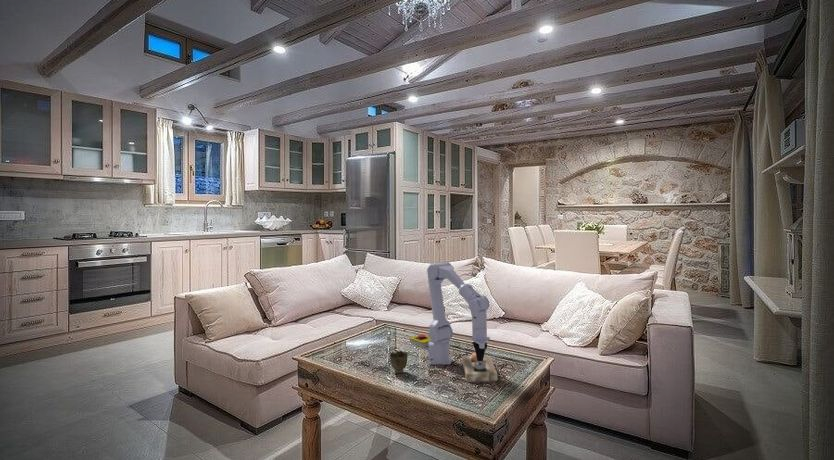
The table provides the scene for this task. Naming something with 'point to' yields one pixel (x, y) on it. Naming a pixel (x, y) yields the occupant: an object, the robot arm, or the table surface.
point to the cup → (398, 361)
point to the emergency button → (420, 341)
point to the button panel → (479, 376)
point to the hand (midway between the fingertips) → (480, 360)
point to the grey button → (480, 366)
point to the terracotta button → (474, 357)
